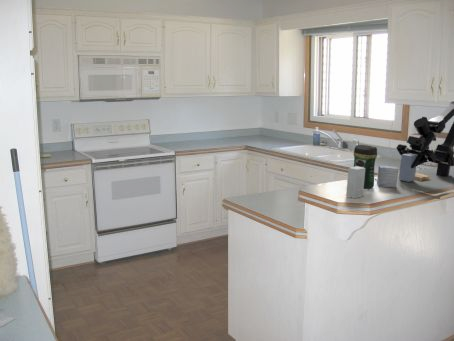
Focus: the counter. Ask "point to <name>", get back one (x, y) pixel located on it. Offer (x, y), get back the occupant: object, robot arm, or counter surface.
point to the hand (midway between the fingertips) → (406, 166)
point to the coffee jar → (366, 162)
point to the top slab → (421, 177)
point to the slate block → (407, 167)
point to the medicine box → (387, 176)
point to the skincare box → (355, 182)
